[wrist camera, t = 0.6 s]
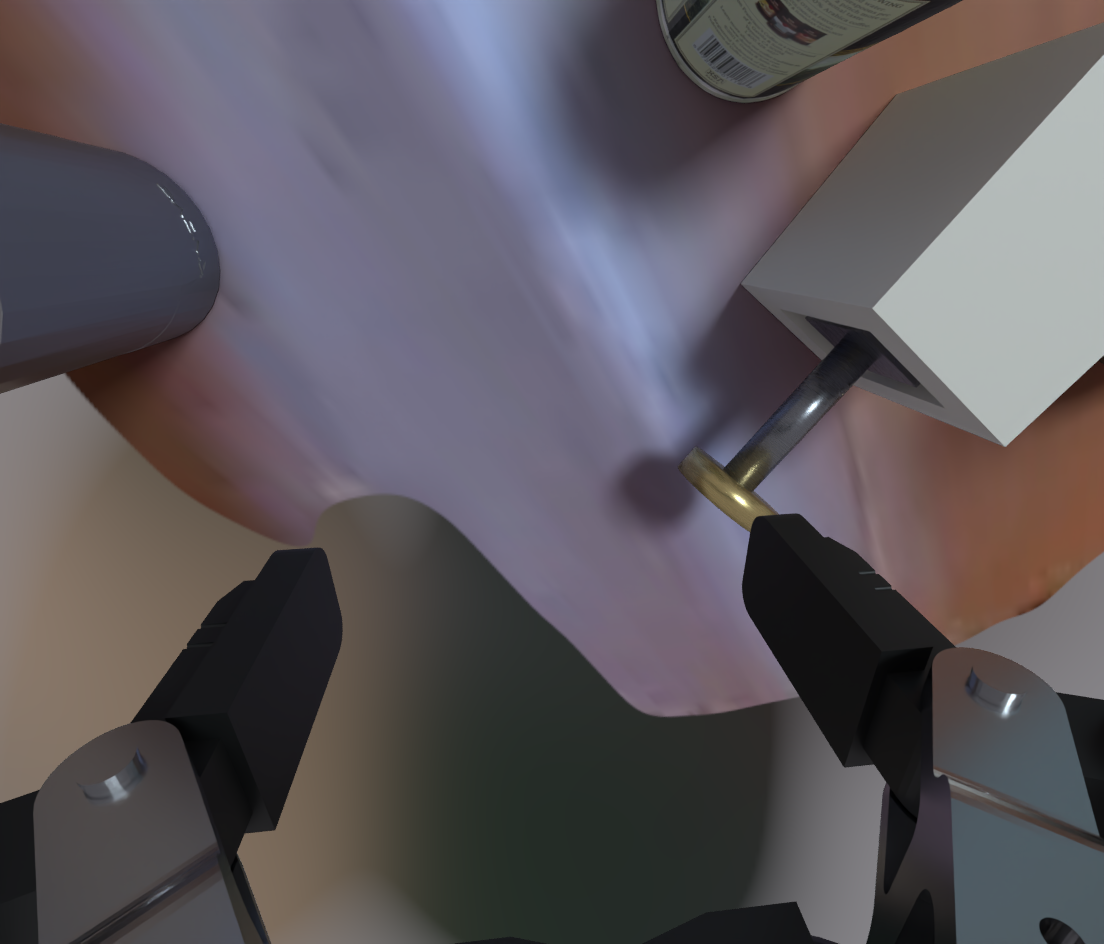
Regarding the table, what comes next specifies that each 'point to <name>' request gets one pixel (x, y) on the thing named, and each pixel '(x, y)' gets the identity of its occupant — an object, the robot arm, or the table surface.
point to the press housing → (964, 239)
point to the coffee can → (777, 39)
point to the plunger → (791, 422)
